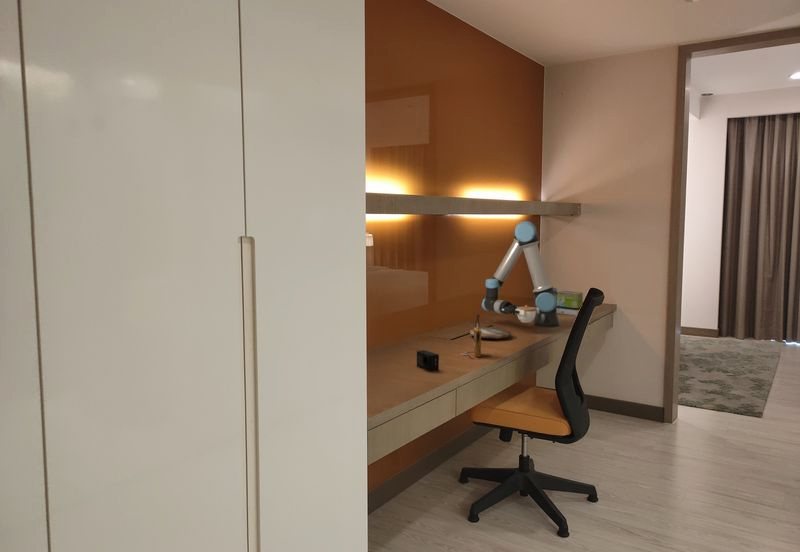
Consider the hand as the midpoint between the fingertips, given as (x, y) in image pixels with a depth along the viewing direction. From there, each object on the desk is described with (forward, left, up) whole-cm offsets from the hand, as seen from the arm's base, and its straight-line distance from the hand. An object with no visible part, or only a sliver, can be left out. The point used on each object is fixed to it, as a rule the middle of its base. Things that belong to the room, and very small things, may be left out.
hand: (531, 311), depth 340 cm
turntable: (+24, -8, -11) cm, 27 cm away
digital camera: (+93, +25, -13) cm, 97 cm away
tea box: (-75, -36, -13) cm, 84 cm away
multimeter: (+62, +18, -13) cm, 66 cm away
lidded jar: (0, -4, -6) cm, 8 cm away
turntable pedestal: (+24, -8, -13) cm, 28 cm away
